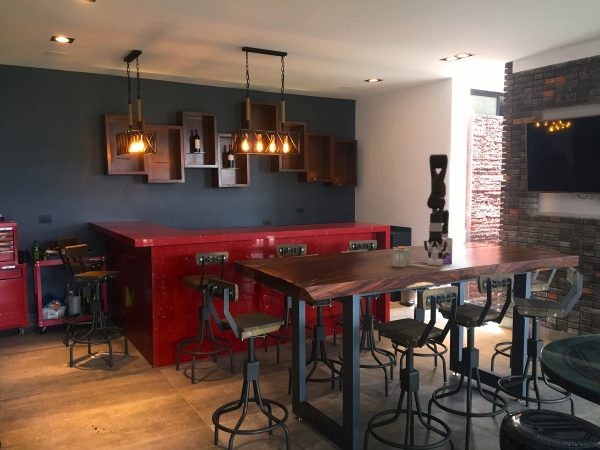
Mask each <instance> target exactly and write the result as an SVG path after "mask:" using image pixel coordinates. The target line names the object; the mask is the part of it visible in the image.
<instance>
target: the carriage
mask: <svg viewBox="0 0 600 450" xmlns="http://www.w3.org/2000/svg"><path fill="white" fill-rule="evenodd" d="M426 262H427V263H428V265H441V263H442V262H443V259H438V251H433V252H432V259H427V260H426Z"/></svg>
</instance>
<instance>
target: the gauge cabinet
mask: <svg viewBox="0 0 600 450" xmlns="http://www.w3.org/2000/svg"><path fill="white" fill-rule="evenodd" d="M392 254H393V255H392V257H393V258H392V266H393V267H398V268H399V267H403V268H407V267H406V264H408V261H411V248H406V250H397V248H394V249H393V250H392Z"/></svg>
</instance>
